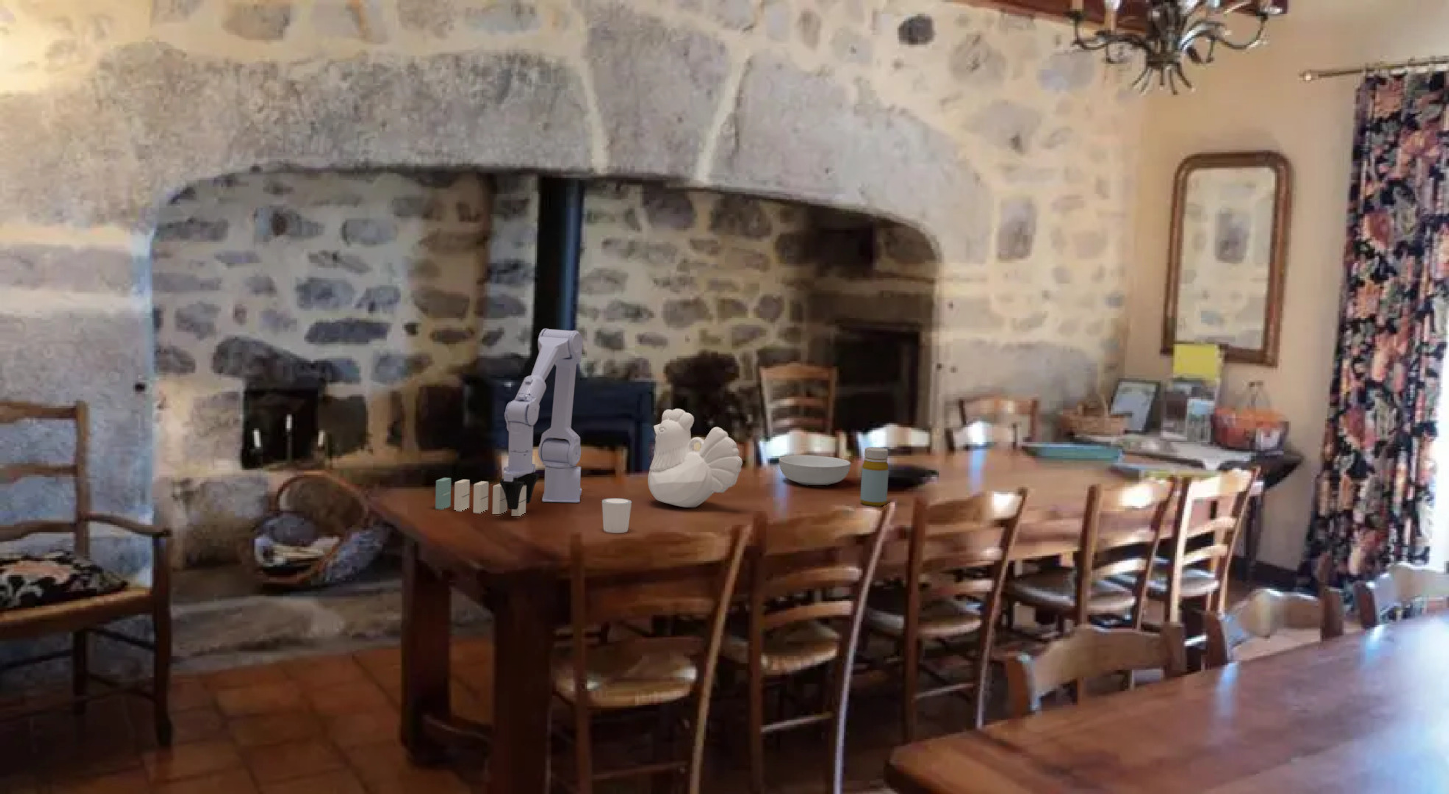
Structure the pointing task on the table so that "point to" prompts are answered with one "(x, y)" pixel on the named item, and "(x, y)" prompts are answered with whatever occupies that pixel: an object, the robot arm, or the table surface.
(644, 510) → the table surface
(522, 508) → the lead tile
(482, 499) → the tile
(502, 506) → the tile
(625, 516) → the shot glass
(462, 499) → the tile
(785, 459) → the serving bowl
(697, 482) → the decorative rooster
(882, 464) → the bottle
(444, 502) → the tile
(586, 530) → the table surface
